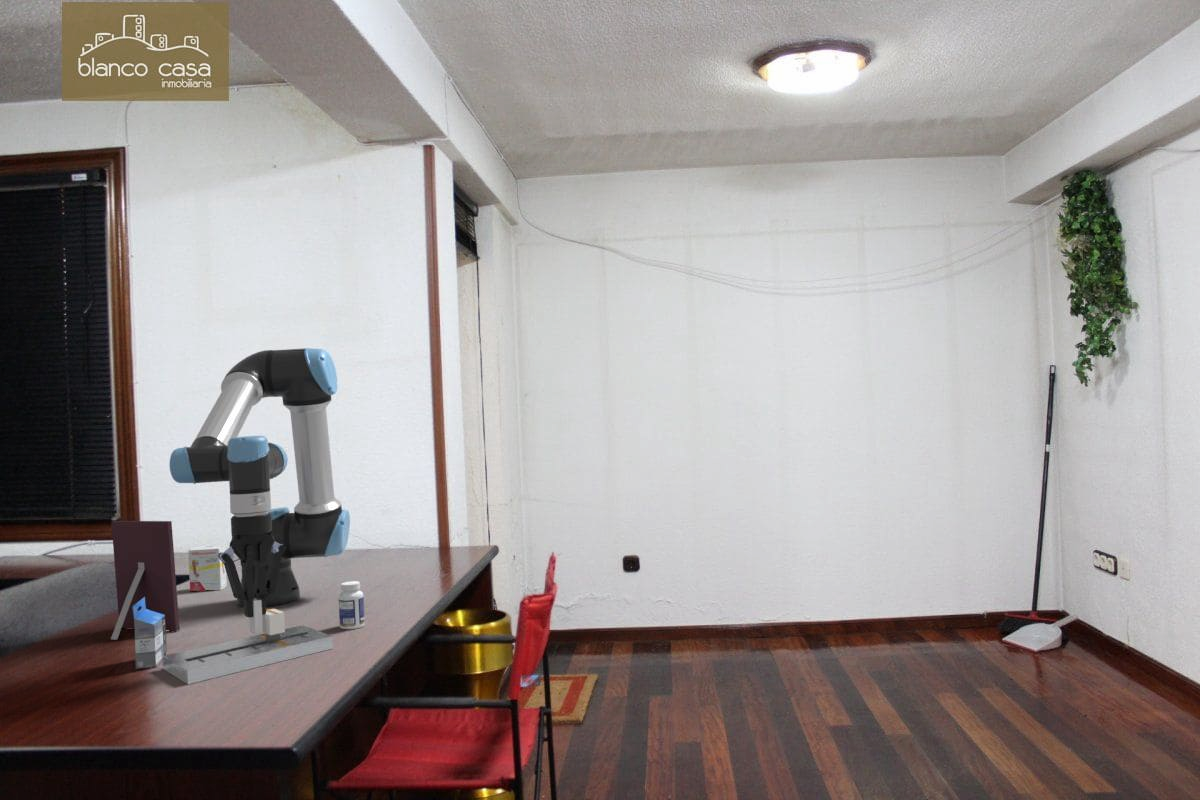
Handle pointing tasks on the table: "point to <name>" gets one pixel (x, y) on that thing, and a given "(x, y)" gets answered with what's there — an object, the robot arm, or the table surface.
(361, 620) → the pill bottle
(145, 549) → the picture frame
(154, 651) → the label tape cartridge
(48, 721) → the table surface
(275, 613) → the fader knob
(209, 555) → the ink box
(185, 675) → the console
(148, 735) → the table surface
